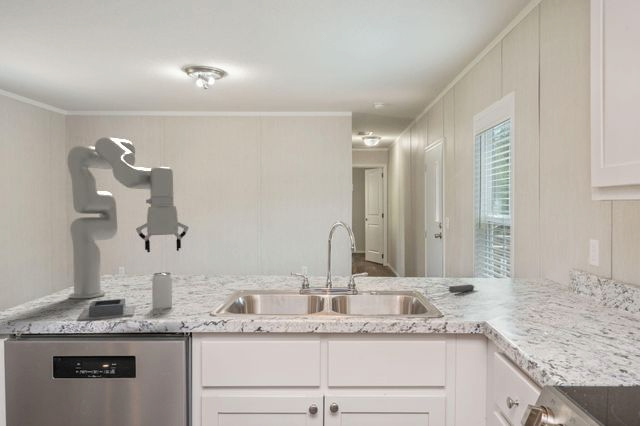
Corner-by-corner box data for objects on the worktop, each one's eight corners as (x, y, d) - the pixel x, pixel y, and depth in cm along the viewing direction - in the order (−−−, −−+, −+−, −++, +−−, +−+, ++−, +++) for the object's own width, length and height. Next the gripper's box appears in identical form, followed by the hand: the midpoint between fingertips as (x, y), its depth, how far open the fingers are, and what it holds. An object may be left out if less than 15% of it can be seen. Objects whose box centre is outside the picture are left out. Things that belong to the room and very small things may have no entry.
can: (175, 305, 152) (175, 272, 152) (167, 310, 146) (166, 275, 146) (158, 305, 153) (157, 272, 153) (149, 309, 147) (148, 274, 146)
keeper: (84, 311, 145) (84, 300, 145) (135, 306, 151) (135, 296, 151) (76, 320, 132) (76, 309, 132) (133, 315, 138) (132, 304, 138)
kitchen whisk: (480, 291, 177) (480, 275, 177) (433, 303, 156) (433, 286, 156) (467, 289, 182) (467, 274, 182) (419, 300, 160) (419, 284, 160)
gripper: (134, 202, 143) (135, 253, 143) (188, 201, 148) (189, 250, 148) (136, 203, 150) (137, 251, 150) (187, 202, 156) (188, 249, 155)
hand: (163, 251), depth 149 cm, fingers open, 9 cm apart
